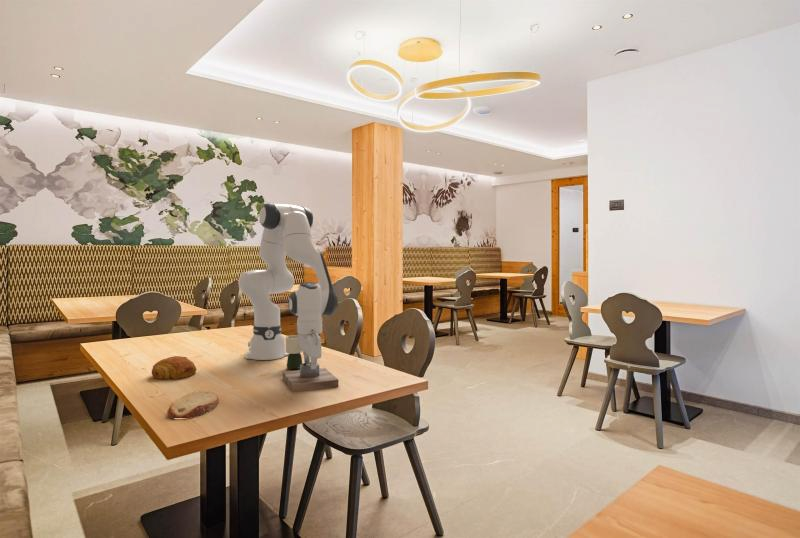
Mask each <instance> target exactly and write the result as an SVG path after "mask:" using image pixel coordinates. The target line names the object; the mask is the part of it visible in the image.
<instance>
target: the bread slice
mask: <svg viewBox="0 0 800 538" xmlns="http://www.w3.org/2000/svg"><path fill="white" fill-rule="evenodd" d="M219 404H220V399H219V396H218V394H216V393H215V392H212V391H207V390H197V391H194V392H191V393H188V394H185V395H184V396H182V397H180V398H178V399H176V400H175V401H173V402H171V404H170V405H169V407H168V409H167V411H166V412H167V415H168V416H169V417H170V418H171V417H172V418H190V417H192V418H194V416H195V417H198V416H197V415H199V416H202V415H205V414H207V413H206V412H208V413H210V412H211V411H213V410H214V409H216V408H217V406H218V405H219ZM212 409H213V410H212ZM210 410H211V411H210ZM204 413H205V414H204ZM201 414H202V415H201ZM172 418H171V419H172ZM190 419H191V418H190Z"/></svg>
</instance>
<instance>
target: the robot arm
mask: <svg viewBox="0 0 800 538" xmlns="http://www.w3.org/2000/svg"><path fill="white" fill-rule="evenodd" d="M258 216H259V223H260V225H261V226H262V227H263V229H262V230H263V232H262V235H261V241H260V244H259V245H260V246H259V252H258V255H259V257H260V258H261V259H262V261H263V262H265V263H267V268H266V269H251V270H248V271H244V272H242V273H241V274H240V276H239V278H238V288H239V289H240V291H241V292H242V294H244V295H245V296H246V297H247V298H248V299H249V301H250V303H251V304H252V305H251V306H252V307H253V309H252V310H253V317H254V318H253V319H254V323H253V327H252V333H253V335H252V337H251V339H250V340H249V341H247V347H249V348H248V350H247V352H246V354H245V358H244V359H246V360H256V361H257V360H258V361H269V360H278V359H282V358H284V357H286V356H287V357H288V355H289V353H286V337H284V335H282V324H281V309H280V306H279V305H278V304H276V303H275V302H272V300H271V297H270V295H273V294H283V293H286V292H289V291H291V290H292V289H293V288H294V284H295V277H294V274H293V273H292V272H291V271H290V270H289V268H288V267H287V263H286V256H288V257H289V258H290V259H291V260H292V261H295V262H297V263H299V264H302V265H306V266H308V267H309V268H311V269H312V270H314V272H315V275H316V277H317V281H318V283H317V282H310V281H308V282H306V281H305V282H302V283H299V285H298V289H297V290H294V291H293V292H291V294H289V296H288V311H289V312H290V313H291V314H292V315H294V316H297V321H296V325H295V327H296V328H295V329H296V330H297V335H298V341H299V347H300V349H301V350H303V352H302V354H303V363H309V362H311V364H310V368H311V369H316V363H318V359H321V358H322V341H321V340H322V339H321V336H320V335H319V334H322V333H323V317H322V316H331V315H332V314H334V313H335V312H336V311H337V309H338V308H339V307H338V306H339V300H338V296H337V293H336V291H335V289H334V286H333V283H332V280H331V277H330V273H329V269H328V266H327V263H326V260H325V257H324V254H323V253H322V251H320V250H319V249H317V246H315V244H314V242H313V237H312V231H311V228H312V227H313V223H314V215H313V212H312V211H311V209H310V208H308V207H304V206H298V205H296V204H295V205H294V204H285V203H284V204H283V203H282V204H281V203H274V202H273V203H271V202H270V203H269V202H268V203H264V204H263V205H262V206H261V208H260V209H259V215H258Z"/></svg>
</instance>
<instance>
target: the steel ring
mask: <svg viewBox="0 0 800 538" xmlns="http://www.w3.org/2000/svg"><path fill="white" fill-rule="evenodd" d="M306 364H311V361H310V362H309V363H305V362H302V364H300V368H299V370H300V376H301V377H303V378H314V377H317V376H319V368H320V364H319V363H318V362H317V363H316V369H311V368H310V366H306Z"/></svg>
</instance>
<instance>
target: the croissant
mask: <svg viewBox="0 0 800 538" xmlns="http://www.w3.org/2000/svg"><path fill="white" fill-rule="evenodd" d="M196 372H197V367H196V365H195V362H194V361H192V360H190V359H189V358H188V357H186V356H180V355H178V356H177V355H175V356H170V357H167V358H164V359H160V360H159V361H157V362H156V363H155V364H154V365H153V366H152V369H151V375H152V377H153V378H154V379H156V380H174V379H175V380H178V379H185V378H188V377H192V376H193V375H195V373H196Z"/></svg>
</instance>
